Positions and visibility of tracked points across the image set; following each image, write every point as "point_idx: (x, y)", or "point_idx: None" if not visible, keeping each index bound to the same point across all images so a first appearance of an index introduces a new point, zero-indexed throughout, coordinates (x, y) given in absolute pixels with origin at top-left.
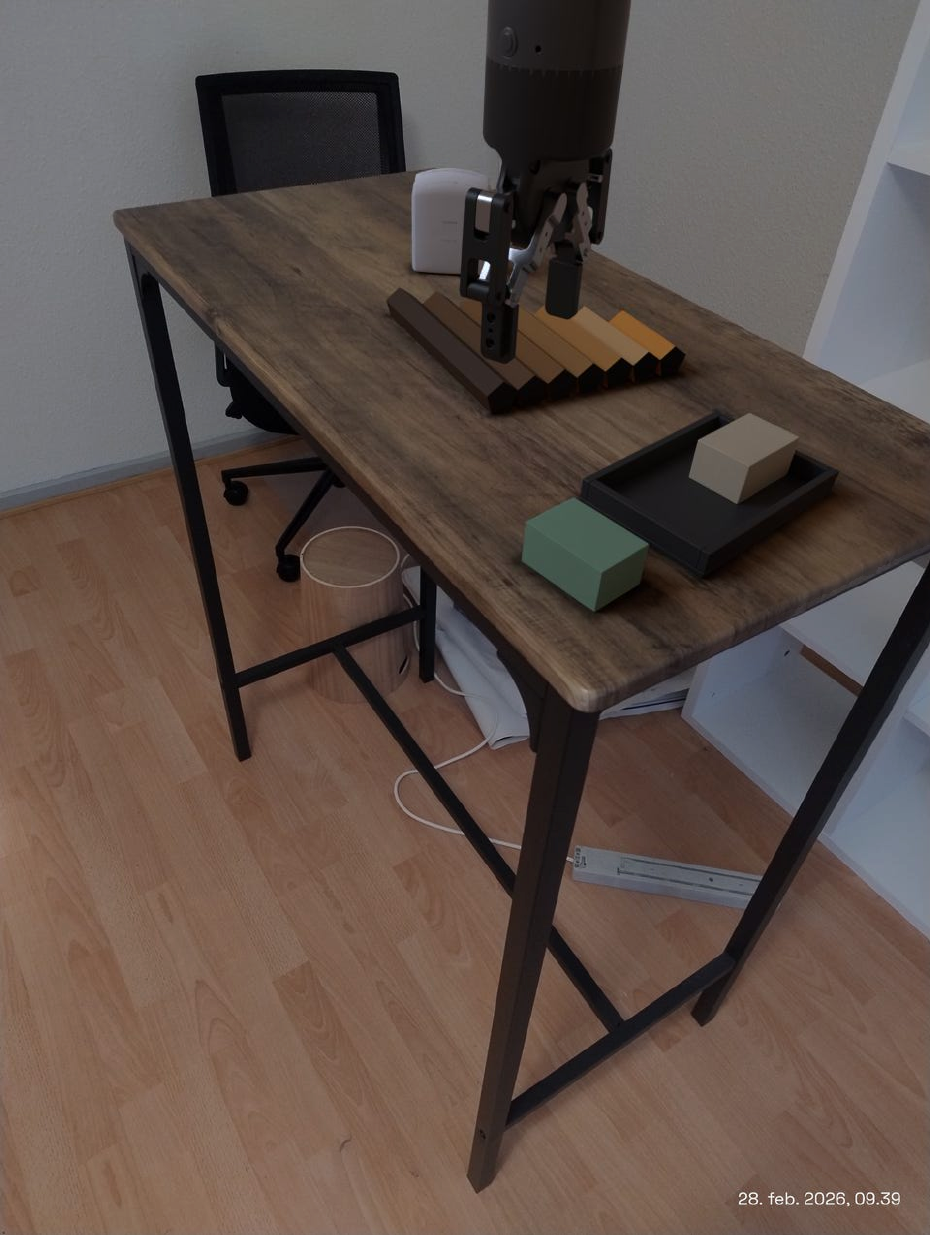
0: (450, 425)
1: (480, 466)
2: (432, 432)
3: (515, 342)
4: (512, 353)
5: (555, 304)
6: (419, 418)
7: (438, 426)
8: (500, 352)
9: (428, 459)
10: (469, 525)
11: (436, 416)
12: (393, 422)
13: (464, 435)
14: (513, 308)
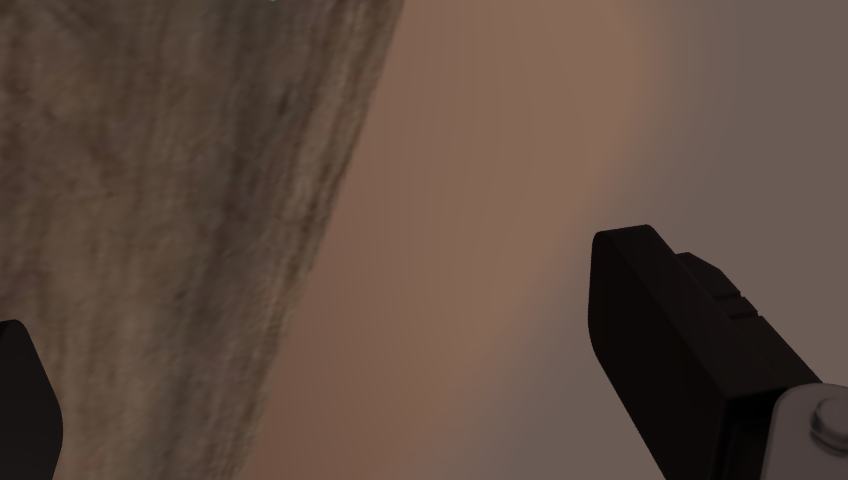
0: None
1: (65, 263)
2: (60, 403)
3: (642, 268)
4: (646, 239)
5: (35, 427)
6: None
7: None
8: (706, 266)
9: (144, 345)
10: (258, 141)
11: None
12: (105, 466)
13: None
14: (786, 386)
